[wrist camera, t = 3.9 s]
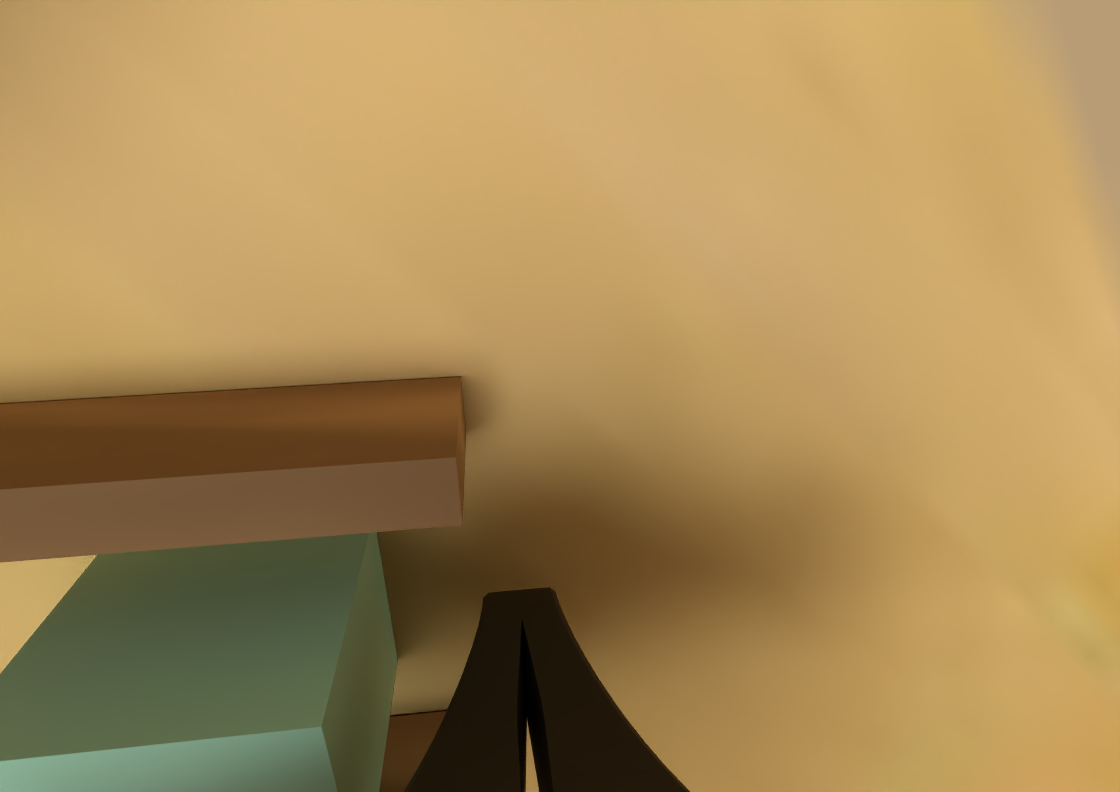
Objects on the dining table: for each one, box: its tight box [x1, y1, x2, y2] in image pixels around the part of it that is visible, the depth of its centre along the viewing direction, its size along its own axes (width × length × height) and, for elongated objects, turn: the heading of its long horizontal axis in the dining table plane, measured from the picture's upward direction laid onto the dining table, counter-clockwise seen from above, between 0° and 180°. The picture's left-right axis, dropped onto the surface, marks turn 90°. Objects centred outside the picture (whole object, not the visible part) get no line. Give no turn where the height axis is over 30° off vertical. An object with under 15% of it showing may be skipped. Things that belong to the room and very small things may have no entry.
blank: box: [0, 532, 398, 792], centre depth 12 cm, size 4×5×5 cm
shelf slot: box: [0, 377, 466, 792], centre depth 13 cm, size 10×9×3 cm
